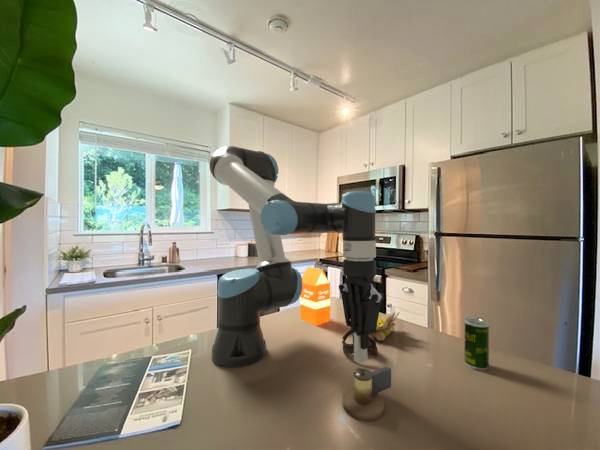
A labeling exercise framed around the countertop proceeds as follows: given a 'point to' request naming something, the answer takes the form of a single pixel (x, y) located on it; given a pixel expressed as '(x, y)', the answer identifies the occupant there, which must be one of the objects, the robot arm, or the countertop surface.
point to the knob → (370, 383)
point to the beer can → (476, 343)
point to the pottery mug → (350, 347)
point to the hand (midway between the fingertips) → (360, 360)
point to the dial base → (362, 407)
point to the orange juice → (315, 297)
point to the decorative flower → (385, 326)
